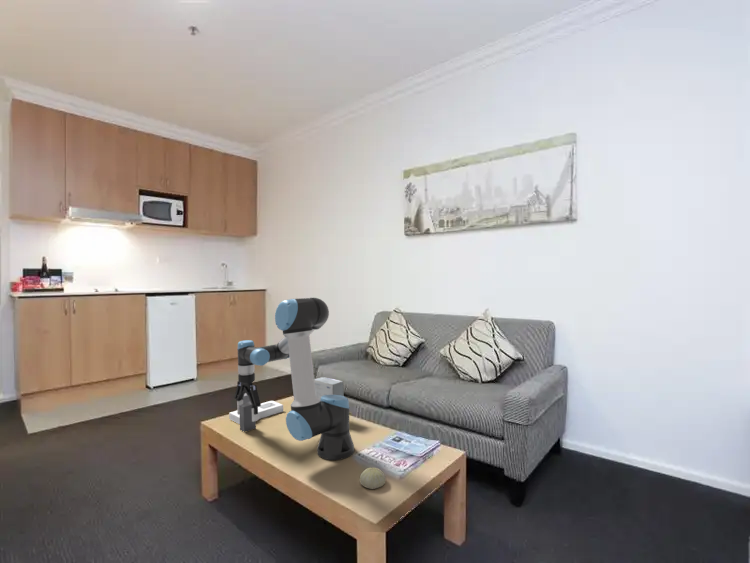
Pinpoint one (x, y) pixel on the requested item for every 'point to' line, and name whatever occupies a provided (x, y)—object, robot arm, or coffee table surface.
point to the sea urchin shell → (372, 478)
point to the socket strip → (263, 410)
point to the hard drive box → (328, 387)
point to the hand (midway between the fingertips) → (247, 417)
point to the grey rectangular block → (246, 417)
